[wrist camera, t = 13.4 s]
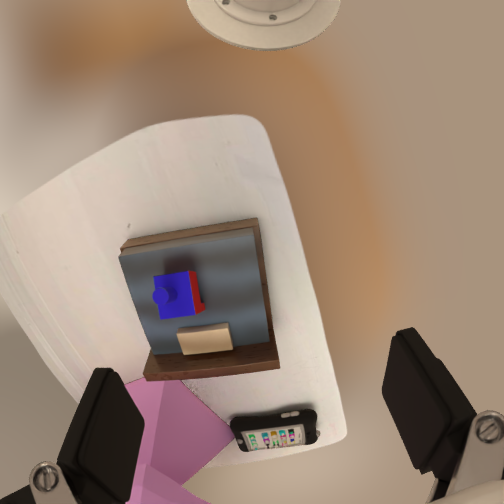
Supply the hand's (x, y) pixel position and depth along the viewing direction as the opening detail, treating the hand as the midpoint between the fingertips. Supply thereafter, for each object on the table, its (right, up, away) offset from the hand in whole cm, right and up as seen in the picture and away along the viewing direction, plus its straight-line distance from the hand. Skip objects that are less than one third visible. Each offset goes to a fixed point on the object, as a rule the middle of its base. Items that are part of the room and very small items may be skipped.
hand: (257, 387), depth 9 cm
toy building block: (-8, +1, +23) cm, 24 cm away
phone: (+4, -27, +41) cm, 49 cm away
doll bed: (-6, 0, +29) cm, 30 cm away
